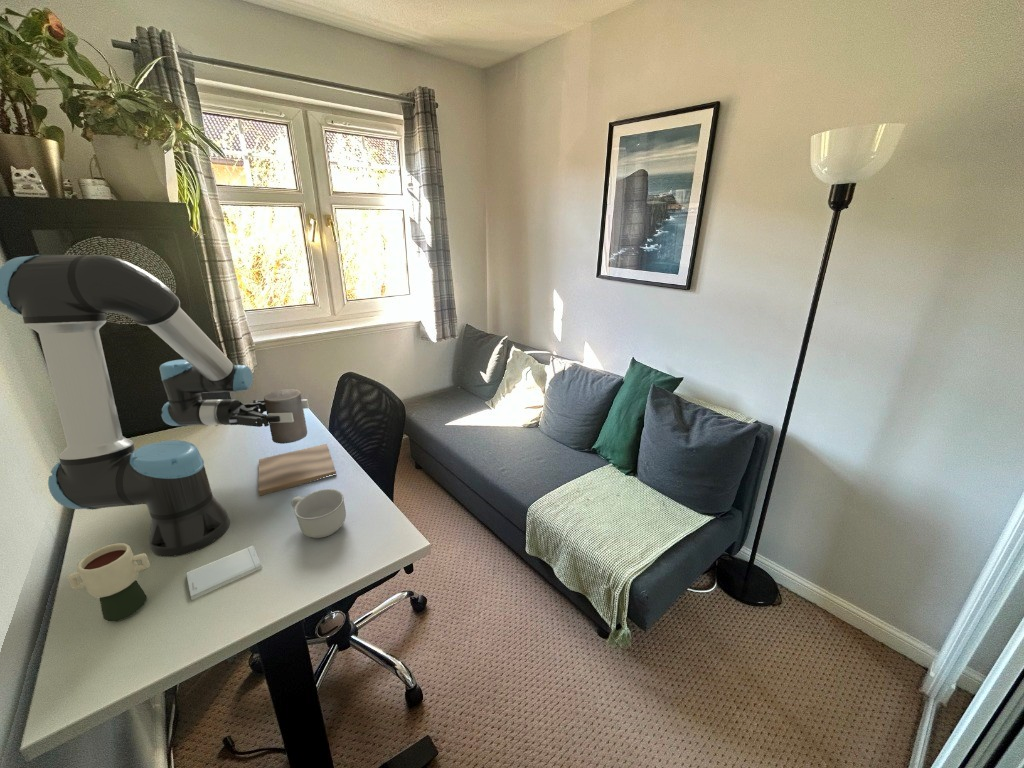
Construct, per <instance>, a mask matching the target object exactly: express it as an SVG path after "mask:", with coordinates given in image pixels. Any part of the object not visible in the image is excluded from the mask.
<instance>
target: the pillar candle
mask: <svg viewBox="0 0 1024 768" xmlns="http://www.w3.org/2000/svg"><path fill="white" fill-rule="evenodd" d="M263 399H264V402H265V407H266V411H265V412H266V415H267V416H268V413H292V414H293V419H294V422H283V423H269V422H268V423H269V426H268V427H269V430H270V434H271V440H272V442H273V443H275V444H280V445H281V444H282V445H283V444H291V443H296V442H298V441H300V440H302V439H305V437H307V435H308V429H307V427H308V426H307V423H306V417H305V412H304V409H303V405H302V400H303V399H302V393H301V391H300V390H298V389H294V388H291V389H290V388H289V389H288V388H286V389H279V390H275V391H271V392H268V393H266V394H265V395H264V396H263Z"/></svg>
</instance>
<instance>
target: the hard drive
mask: <svg viewBox="0 0 1024 768" xmlns="http://www.w3.org/2000/svg"><path fill="white" fill-rule="evenodd" d="M262 568H263V565H262V563H261V560H260V558H259V556H258V553H257V551H256V548H255V546H254V545H253V544H252V545H250V546H248V547H245V548H243V549H241V550H238V551H236V552H232V553H231V554H229V555H226V556H224V557H221V558H219V559H217V560H214V561H211V562H209V563H207V564H204V565H202V566H199V567H197V568H194V569H192V570H190V571H188V572H186V579H187V580H186V581H187V585H188V590H189V595H190V599H191V600H194V599H197V598H199V597H201V596H204V595H205V594H207V593H210V592H212V591H214V590H216V589H219V588H222V587H223V586H226V585H227V584H230V583H231V582H234V581H236V580H239V579H241V578H242V577H246V576H248V575H249V574H252V573H254V572H256V571H258V570H261V569H262Z"/></svg>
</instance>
